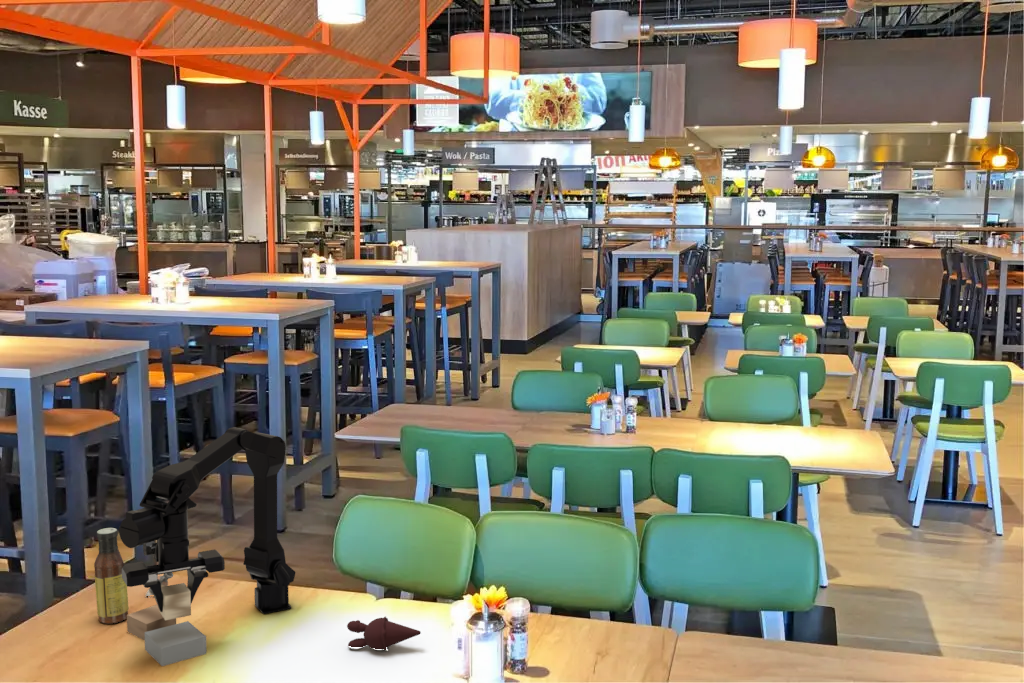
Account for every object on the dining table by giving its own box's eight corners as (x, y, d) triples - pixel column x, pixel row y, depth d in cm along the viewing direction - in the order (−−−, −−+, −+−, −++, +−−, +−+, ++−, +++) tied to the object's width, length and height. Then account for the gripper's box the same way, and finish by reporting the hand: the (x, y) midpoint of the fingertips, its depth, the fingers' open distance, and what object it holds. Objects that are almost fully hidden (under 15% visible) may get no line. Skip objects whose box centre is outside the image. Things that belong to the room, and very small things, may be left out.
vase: (178, 591, 231) (177, 567, 230) (166, 602, 226) (165, 577, 225) (156, 588, 232) (155, 564, 231) (144, 599, 227) (143, 575, 226)
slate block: (188, 639, 207) (188, 621, 207) (206, 655, 201) (206, 636, 200) (145, 651, 202) (144, 632, 201) (162, 667, 195) (161, 648, 194)
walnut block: (156, 622, 215) (156, 604, 214) (176, 631, 211) (176, 613, 210) (127, 633, 209) (126, 614, 209) (146, 642, 205) (146, 624, 205)
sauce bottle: (134, 614, 218) (131, 526, 215) (120, 626, 212) (117, 536, 209) (105, 612, 219) (102, 524, 216) (90, 624, 213) (87, 534, 210)
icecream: (422, 611, 208) (350, 615, 208) (417, 617, 200) (343, 621, 201) (423, 646, 207) (351, 649, 208) (418, 653, 200) (344, 657, 200)
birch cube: (184, 606, 203) (184, 582, 203) (191, 615, 199) (190, 591, 198) (159, 611, 201) (158, 587, 200) (165, 620, 197) (164, 596, 196)
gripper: (209, 514, 209) (211, 586, 211) (115, 528, 199) (117, 603, 202) (224, 530, 200) (226, 604, 202) (126, 545, 190) (128, 623, 192)
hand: (174, 608), depth 200 cm, fingers closed on birch cube, 5 cm apart
